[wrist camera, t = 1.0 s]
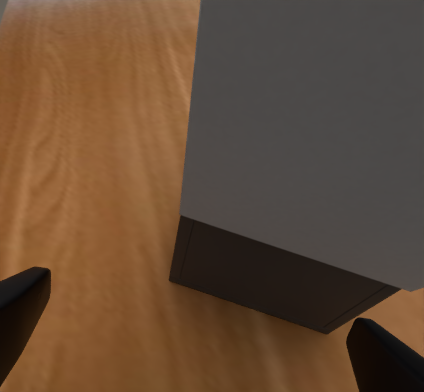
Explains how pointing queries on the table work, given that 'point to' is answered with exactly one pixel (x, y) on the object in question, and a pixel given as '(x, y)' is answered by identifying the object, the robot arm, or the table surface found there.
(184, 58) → the table surface
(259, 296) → the dark grey box
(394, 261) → the lid
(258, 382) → the table surface
